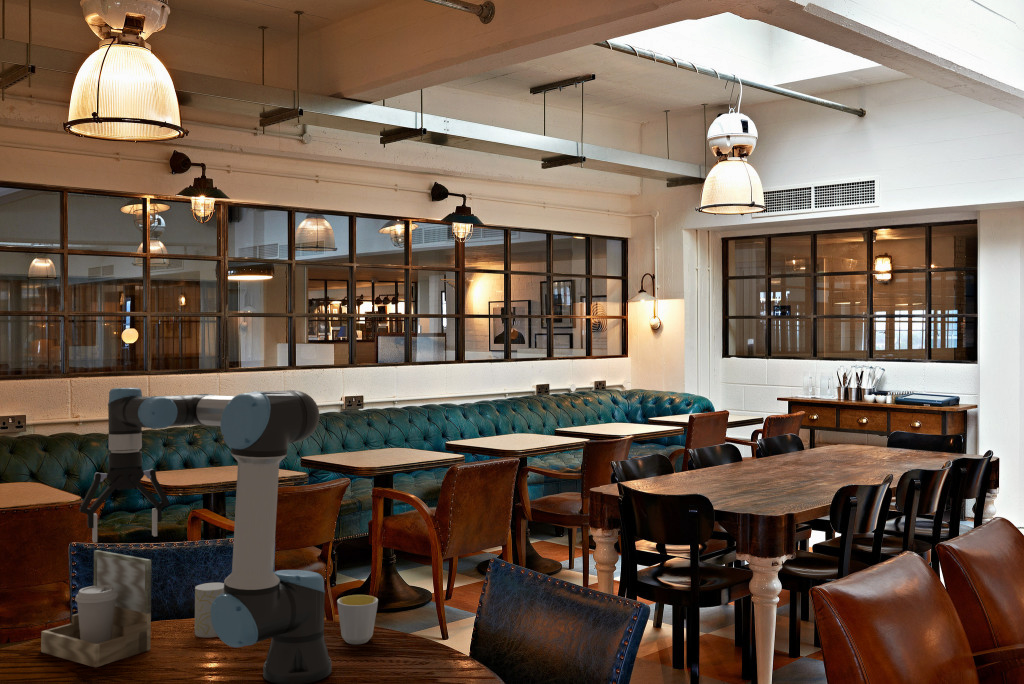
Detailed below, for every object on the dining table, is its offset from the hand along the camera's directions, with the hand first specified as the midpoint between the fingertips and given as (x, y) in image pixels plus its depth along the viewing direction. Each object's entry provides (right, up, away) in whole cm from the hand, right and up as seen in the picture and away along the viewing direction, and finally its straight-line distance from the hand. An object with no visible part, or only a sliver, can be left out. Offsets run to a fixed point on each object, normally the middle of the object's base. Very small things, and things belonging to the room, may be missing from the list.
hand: (125, 538), depth 226 cm
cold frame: (-7, -28, 0) cm, 28 cm away
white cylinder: (+16, -28, +16) cm, 36 cm away
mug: (+55, -28, +11) cm, 63 cm away
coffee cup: (-7, -28, 0) cm, 29 cm away
